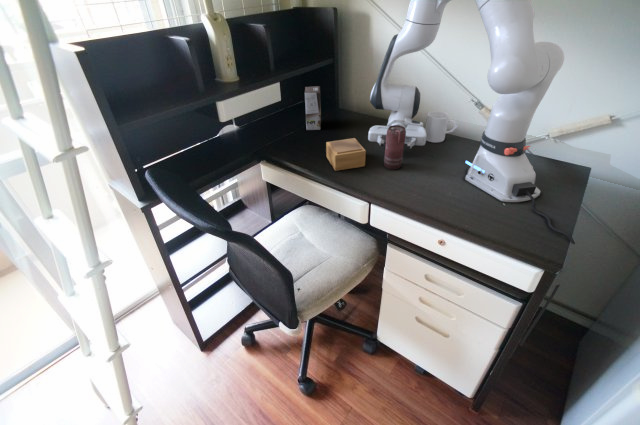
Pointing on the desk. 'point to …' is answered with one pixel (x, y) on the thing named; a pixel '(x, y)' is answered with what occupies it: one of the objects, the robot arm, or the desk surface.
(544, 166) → the desk surface
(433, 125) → the mug
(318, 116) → the coffee box
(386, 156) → the can
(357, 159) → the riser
